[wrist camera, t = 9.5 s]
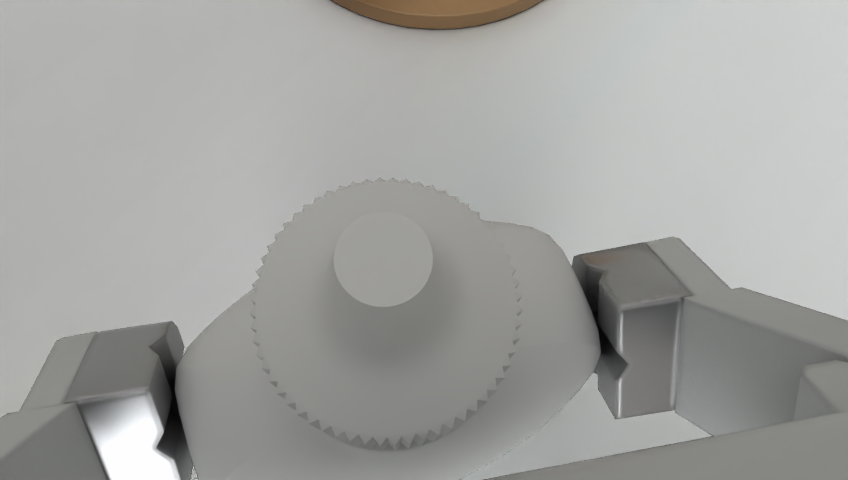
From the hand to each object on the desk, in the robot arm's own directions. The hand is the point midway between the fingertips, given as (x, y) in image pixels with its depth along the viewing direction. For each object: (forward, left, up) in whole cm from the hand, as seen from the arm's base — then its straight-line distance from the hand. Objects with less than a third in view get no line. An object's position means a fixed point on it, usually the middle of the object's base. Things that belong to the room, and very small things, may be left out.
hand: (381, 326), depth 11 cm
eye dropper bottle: (0, -1, -7) cm, 7 cm away
